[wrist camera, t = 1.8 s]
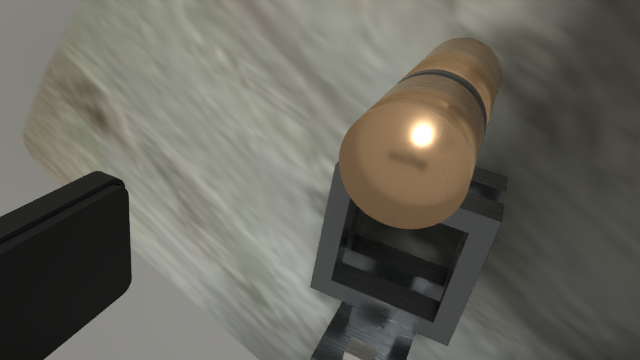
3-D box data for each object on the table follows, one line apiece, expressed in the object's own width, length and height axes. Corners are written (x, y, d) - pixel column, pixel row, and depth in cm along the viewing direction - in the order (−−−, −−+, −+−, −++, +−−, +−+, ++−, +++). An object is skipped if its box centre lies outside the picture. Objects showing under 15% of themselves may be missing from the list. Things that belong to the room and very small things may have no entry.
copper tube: (434, 29, 27) (352, 88, 15) (512, 49, 25) (490, 129, 14) (413, 102, 29) (328, 203, 17) (485, 123, 28) (446, 247, 16)
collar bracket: (508, 170, 28) (496, 261, 20) (445, 321, 34) (416, 438, 26) (371, 127, 30) (309, 192, 22) (335, 276, 37) (276, 370, 28)
